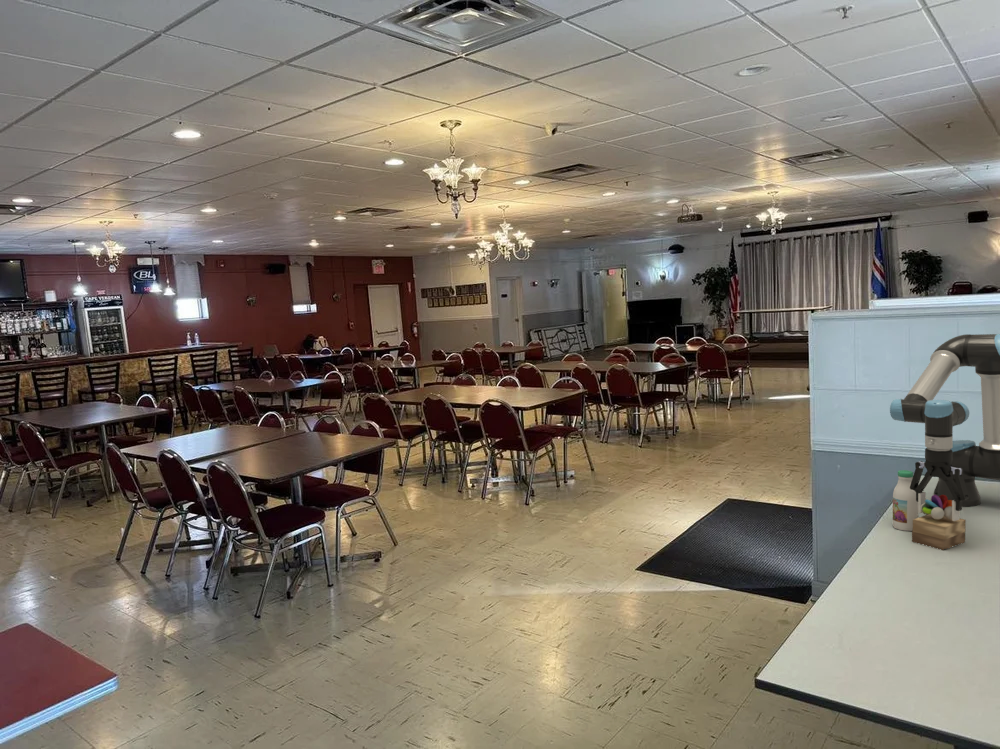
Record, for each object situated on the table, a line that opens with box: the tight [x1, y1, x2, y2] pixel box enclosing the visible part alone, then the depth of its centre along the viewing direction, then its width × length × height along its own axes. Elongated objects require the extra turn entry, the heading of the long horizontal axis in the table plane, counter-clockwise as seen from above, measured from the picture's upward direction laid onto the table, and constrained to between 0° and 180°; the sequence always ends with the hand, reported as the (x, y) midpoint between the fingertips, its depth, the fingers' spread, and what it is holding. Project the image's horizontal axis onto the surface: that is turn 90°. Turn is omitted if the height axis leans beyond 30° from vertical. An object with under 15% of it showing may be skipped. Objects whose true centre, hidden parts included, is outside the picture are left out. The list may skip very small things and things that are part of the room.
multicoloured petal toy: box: [920, 494, 952, 520], centre depth 226 cm, size 8×10×7 cm
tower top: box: [913, 514, 967, 540], centre depth 226 cm, size 12×10×4 cm
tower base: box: [911, 531, 966, 551], centre depth 227 cm, size 12×10×4 cm
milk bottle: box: [892, 469, 919, 532], centre depth 241 cm, size 8×8×20 cm
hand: (938, 515), depth 226 cm, fingers closed on multicoloured petal toy, 10 cm apart
